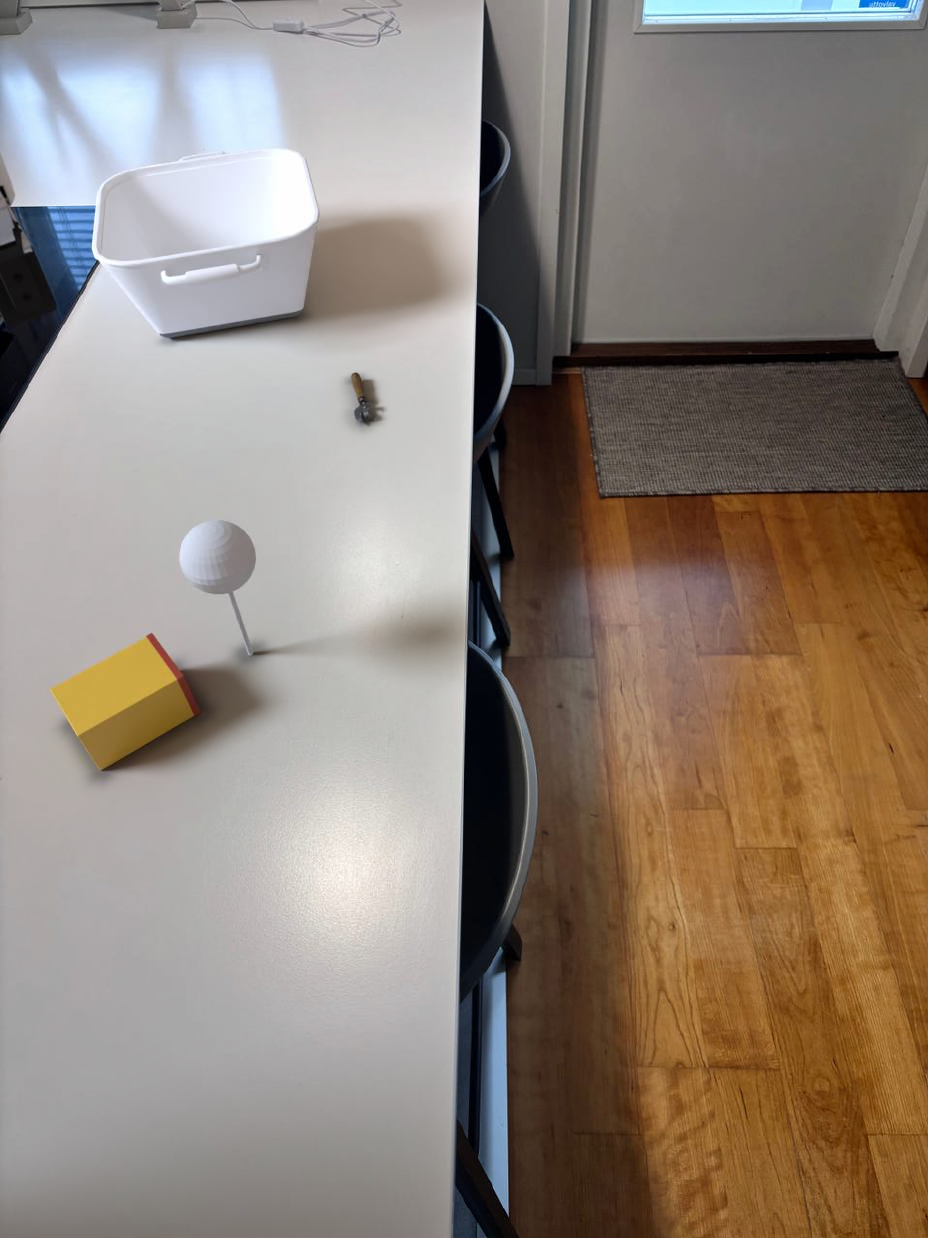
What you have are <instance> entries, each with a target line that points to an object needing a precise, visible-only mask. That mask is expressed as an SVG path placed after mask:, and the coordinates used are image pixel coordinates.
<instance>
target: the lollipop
mask: <svg viewBox="0 0 928 1238" xmlns="http://www.w3.org/2000/svg"><path fill="white" fill-rule="evenodd" d="M256 562H257V555H256V548H255V546H254V543H253V541H252V538H251V536H249V534H248V533H247V532H246V531H245V529H243V528H241V527H240V526H239V525H237V524H236V523H233V522H230V521H227V520H224V519H223V520H221V519H213V520H207V521H204V522H201V523H199V524H197V525H196V526H194V527H192V528H191V529H190V530H189V531H188V532H187V534H186V535H185V536H184V538H183V540H182V542H181V545H180V547H179V565H180V569H181V572H182V573H183V576H184V577H185V578H186V580H187V581H188V582H189V583H190V584H191V585H192V586H193V587H195V588H196V589H198V590H200V591H201V592H204V593H207V594H211V595H227V596H228V600H229V602H230V605H231V608H232V611H233V614H234V617H235V621H236V622H237V626H238V628H239V631H240V635H241V637H242V640H243V643H244V645H245V648H246V649H245V650H246V652H247V655H248V656H250V657H252V656H254V654H255V653H254V650H253V648H252V645H251V641H250V638H249V636H248V633H247V629H246V627H245V623H244V621H243V618H242V615H241V612H240V609H239V606H238V603H237V600H236V596H235V593H234V592H235V591H237V590H239V589H241V588H242V587H243V586H244V585H246V584H247V582H248V581H249V580H250V578H251V577H252V575H253V573H254V570H255V568H256V564H257V563H256Z"/></svg>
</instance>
